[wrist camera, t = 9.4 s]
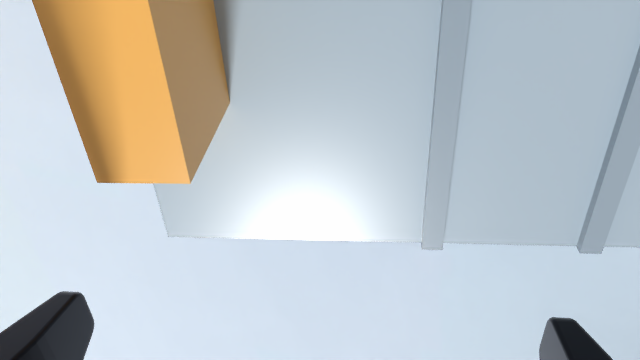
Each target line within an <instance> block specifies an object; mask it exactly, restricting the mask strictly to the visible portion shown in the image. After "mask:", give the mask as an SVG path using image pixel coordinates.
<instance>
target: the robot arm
mask: <svg viewBox="0 0 640 360" xmlns="http://www.w3.org/2000/svg"><path fill="white" fill-rule="evenodd" d="M93 329H94V319H93V317H92V314H91V312H90V309H89V307H88V305H87V302H86V300H85V297H84V296H83V295H82V294H81V293H79V292H66V291H63V292H59V293H57V294H56V295H54V296H53V297H51V298H50V299H49V300H47V301H46V302H44V303H43V304H41V305H40V306H38V307H37V308H36V309H34V310H33V311H31V312H30V313H28V314H27V315H25V316H24V317H23V318H21V319H20V320H18V321H17V322H15V323H14V324H12V325H11V326H10V327H8V328H7V329H5V330H4V331H2V332H1V333H0V360H83V359H84V356H85V353H86V351H87V348H88V345H89V342H90V339H91V336H92V333H93ZM539 357H540V360H613V359H612V358H611V357H610V356H609V355H608V354H607V353H606V352H605V351H604V350H603V349H602V348H601V347H600V346H599V345H598V344H597V342H596V341H595V340H594V339H593V338H592V337H591V336H590V335H589V334H588V333H587V332H586V331H585V330H584V329H583V328H582V327H581V326H580V325H579V324H578V323H577V322H576V321H575V320H573V319H571V318H556V317H552V318H550V319H549V320H548V321H547V324H546V327H545V330H544V334H543V337H542V341H541V344H540V349H539Z"/></svg>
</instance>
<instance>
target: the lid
mask: <svg viewBox="0 0 640 360" xmlns="http://www.w3.org/2000/svg"><path fill="white" fill-rule="evenodd" d="M32 2H33V5H34V7H35V10H36V13H37V16H38V18H39V21H40V24H41V27H42V30H43V32H44V35H45V38H46V41H47V44H48V46H49V49H50V52H51V55H52V58H53V60H54V63H55V66H56V69H57V72H58V74H59V77H60V80H61V83H62V86H63V88H64V91H65V94H66V97H67V100H68V102H69V105H70V108H71V111H72V113H73V116H74V119H75V122H76V125H77V127H78V130H79V133H80V136H81V139H82V141H83V144H84V147H85V150H86V153H87V155H88V158H89V161H90V164H91V167H92V169H93V172H94V175H95V178H96V181H97V183H153V185H154V188H155V192H156V196H157V199H158V203H159V206H160V210H161V213H162V217H163V220H164V224H165V227H166V231H167V234H168V237H194V238H238V239H283V240H327V241H371V242H415V243H421V246H422V249H424V250H442V249H443V243H459V244H504V245H548V246H577V248H578V251H579V253H592V254H601V253H602V251H603V248H604V247H636V248H640V0H32Z"/></svg>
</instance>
